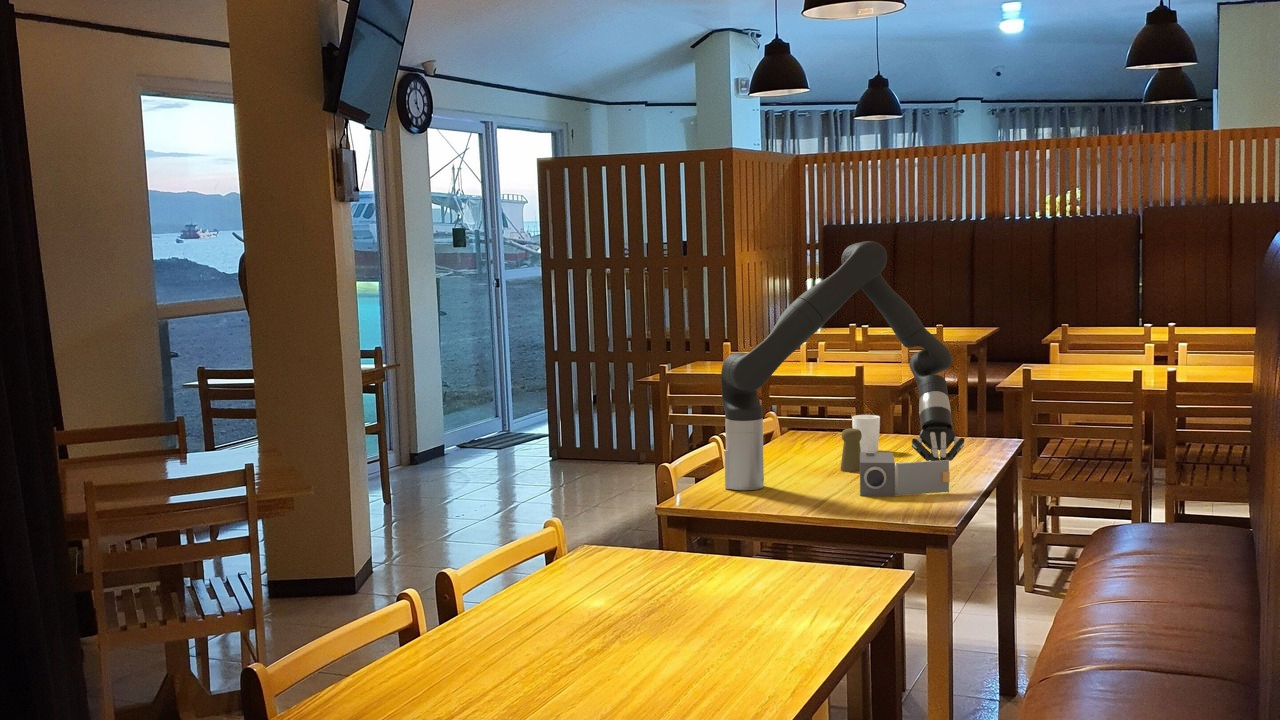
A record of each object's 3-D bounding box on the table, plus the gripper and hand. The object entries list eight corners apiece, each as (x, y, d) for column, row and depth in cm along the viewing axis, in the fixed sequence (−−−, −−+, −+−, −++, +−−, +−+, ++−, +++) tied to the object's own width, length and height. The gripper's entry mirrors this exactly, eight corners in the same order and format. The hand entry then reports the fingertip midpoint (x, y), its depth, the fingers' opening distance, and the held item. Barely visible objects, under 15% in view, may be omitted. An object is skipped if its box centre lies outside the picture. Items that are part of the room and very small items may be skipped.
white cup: (850, 453, 338) (850, 418, 337) (853, 448, 345) (853, 414, 344) (878, 454, 335) (878, 419, 334) (881, 449, 343) (881, 415, 342)
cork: (856, 473, 308) (856, 431, 307) (836, 471, 312) (835, 429, 311) (867, 469, 313) (867, 428, 312) (846, 467, 317) (846, 426, 316)
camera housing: (860, 496, 280) (860, 460, 279) (859, 483, 295) (859, 449, 294) (894, 497, 278) (894, 461, 278) (892, 484, 293) (892, 450, 292)
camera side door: (894, 494, 279) (894, 463, 279) (947, 491, 282) (947, 460, 281) (896, 496, 278) (896, 464, 277) (950, 492, 281) (950, 461, 280)
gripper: (908, 405, 291) (912, 465, 280) (964, 404, 289) (970, 464, 278) (907, 423, 296) (911, 482, 286) (961, 422, 294) (968, 482, 284)
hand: (940, 473), depth 282 cm, fingers closed
